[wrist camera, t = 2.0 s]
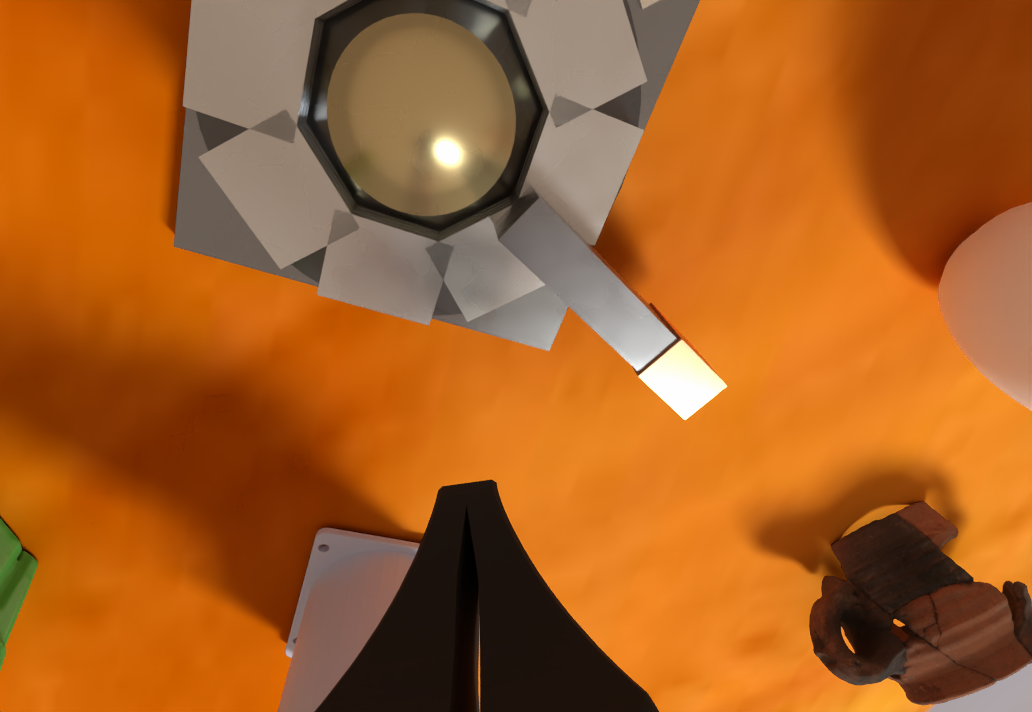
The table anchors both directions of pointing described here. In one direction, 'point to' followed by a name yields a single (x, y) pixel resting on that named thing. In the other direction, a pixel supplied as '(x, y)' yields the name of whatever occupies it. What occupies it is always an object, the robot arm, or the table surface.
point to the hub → (421, 132)
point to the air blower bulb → (994, 301)
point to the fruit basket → (12, 582)
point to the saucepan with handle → (476, 239)
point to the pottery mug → (918, 613)
